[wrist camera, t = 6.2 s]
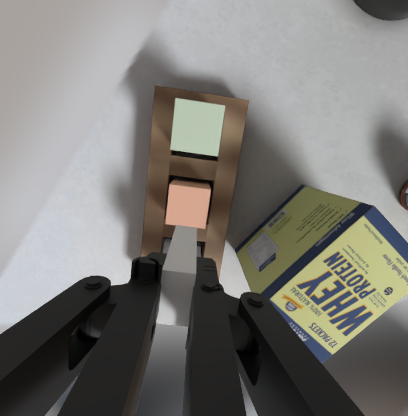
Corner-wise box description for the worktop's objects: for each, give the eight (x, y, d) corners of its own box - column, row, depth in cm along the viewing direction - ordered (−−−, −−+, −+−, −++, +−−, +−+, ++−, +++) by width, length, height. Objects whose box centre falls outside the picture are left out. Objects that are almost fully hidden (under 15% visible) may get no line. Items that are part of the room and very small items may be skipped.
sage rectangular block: (180, 110, 30) (175, 97, 23) (219, 116, 30) (225, 105, 23) (176, 150, 31) (170, 149, 24) (213, 155, 31) (217, 156, 24)
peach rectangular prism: (175, 178, 35) (169, 184, 28) (208, 182, 35) (210, 189, 28) (171, 210, 36) (165, 224, 29) (203, 214, 36) (205, 228, 29)
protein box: (343, 225, 39) (438, 271, 23) (275, 288, 41) (320, 367, 26) (302, 182, 37) (375, 202, 22) (232, 250, 39) (255, 312, 24)
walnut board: (160, 93, 33) (155, 85, 29) (242, 106, 34) (248, 100, 30) (144, 272, 39) (138, 285, 35) (214, 279, 40) (216, 293, 36)
